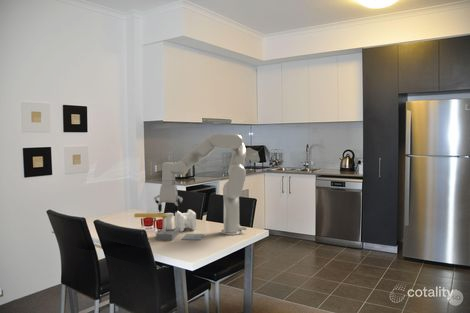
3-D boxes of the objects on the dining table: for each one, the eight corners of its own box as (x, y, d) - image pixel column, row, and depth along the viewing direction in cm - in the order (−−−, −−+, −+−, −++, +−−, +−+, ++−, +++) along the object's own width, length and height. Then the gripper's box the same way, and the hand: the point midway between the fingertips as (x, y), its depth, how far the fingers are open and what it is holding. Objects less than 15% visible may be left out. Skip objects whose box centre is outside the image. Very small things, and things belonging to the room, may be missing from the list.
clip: (135, 216, 216) (135, 213, 216) (167, 216, 216) (167, 213, 216) (134, 217, 213) (134, 214, 213) (166, 217, 213) (166, 214, 213)
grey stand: (178, 233, 230) (178, 212, 229) (171, 240, 214) (171, 217, 213) (164, 233, 231) (164, 212, 230) (156, 240, 215) (155, 217, 214)
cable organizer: (196, 231, 235) (196, 213, 234) (180, 233, 231) (179, 214, 230) (190, 226, 249) (189, 209, 248) (174, 228, 245) (173, 210, 244)
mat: (204, 234, 226) (204, 233, 226) (200, 240, 214) (200, 239, 214) (186, 234, 227) (186, 233, 227) (181, 239, 215) (181, 238, 215)
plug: (176, 234, 228) (175, 212, 228) (173, 237, 222) (173, 215, 221) (165, 234, 229) (165, 212, 228) (162, 236, 223) (162, 214, 222)
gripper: (184, 182, 227) (184, 211, 228) (156, 181, 229) (155, 210, 229) (181, 184, 219) (180, 213, 220) (152, 183, 221) (151, 212, 222)
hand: (168, 211), depth 225 cm, fingers open, 9 cm apart
